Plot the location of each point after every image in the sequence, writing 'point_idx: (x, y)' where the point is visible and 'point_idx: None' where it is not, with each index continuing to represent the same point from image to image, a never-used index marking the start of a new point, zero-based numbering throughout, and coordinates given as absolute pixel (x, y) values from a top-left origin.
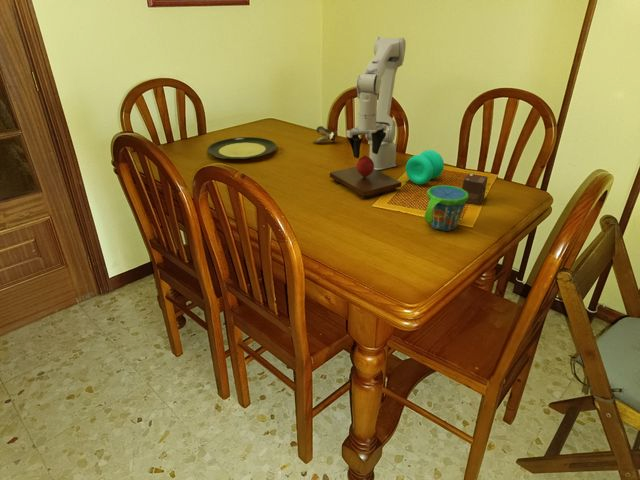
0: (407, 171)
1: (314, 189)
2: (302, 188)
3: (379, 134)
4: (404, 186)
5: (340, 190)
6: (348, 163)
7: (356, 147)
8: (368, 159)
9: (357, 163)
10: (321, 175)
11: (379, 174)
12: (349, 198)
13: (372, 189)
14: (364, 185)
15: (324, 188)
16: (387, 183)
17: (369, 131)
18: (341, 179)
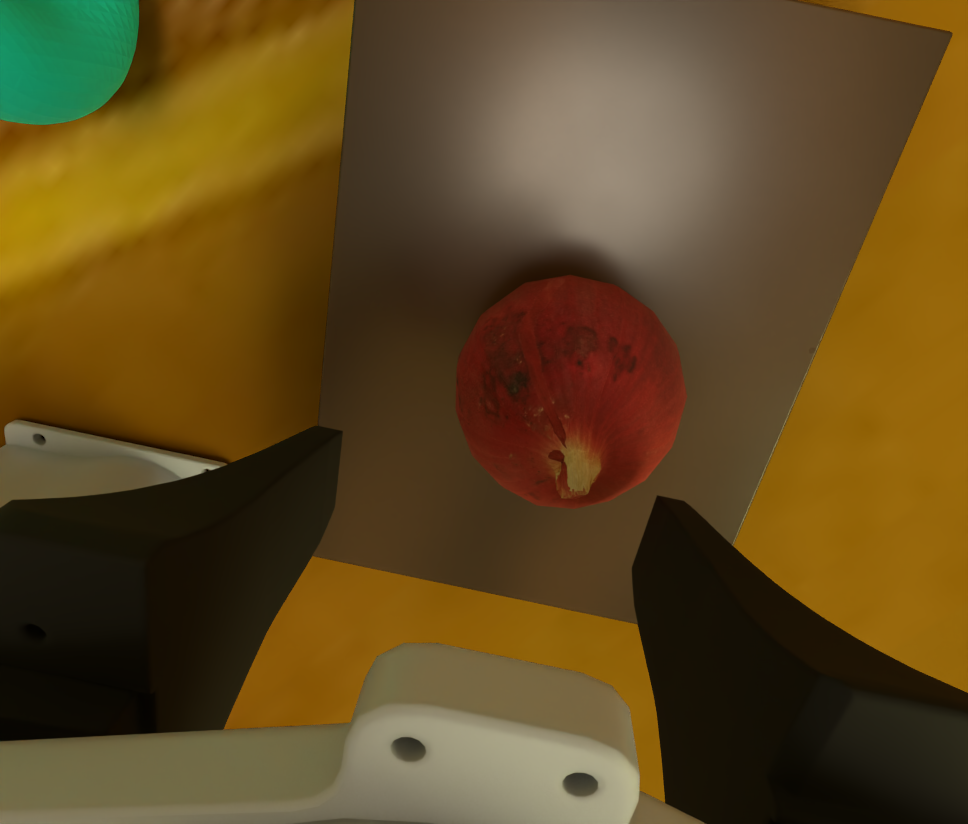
0: (102, 57)
1: (918, 550)
2: (956, 621)
3: (157, 613)
4: (269, 10)
5: (800, 394)
6: (306, 696)
7: (805, 614)
8: (581, 376)
9: (655, 466)
10: (637, 682)
11: (387, 290)
12: (919, 203)
13: (816, 11)
14: (765, 180)
15: (848, 512)
16: (525, 20)
17: (624, 815)
18: (766, 467)
